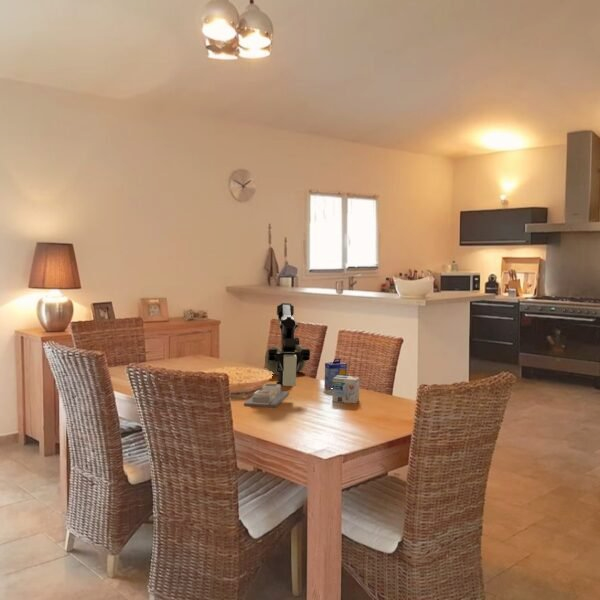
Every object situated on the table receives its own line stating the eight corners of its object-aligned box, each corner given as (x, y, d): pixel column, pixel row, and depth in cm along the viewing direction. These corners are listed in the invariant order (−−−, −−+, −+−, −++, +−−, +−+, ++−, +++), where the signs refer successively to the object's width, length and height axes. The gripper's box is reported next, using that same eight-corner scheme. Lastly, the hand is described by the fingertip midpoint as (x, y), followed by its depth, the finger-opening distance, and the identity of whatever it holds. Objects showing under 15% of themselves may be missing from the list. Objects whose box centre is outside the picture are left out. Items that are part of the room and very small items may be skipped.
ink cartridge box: (328, 389, 302) (329, 359, 301) (323, 387, 307) (324, 358, 306) (347, 388, 306) (347, 358, 305) (341, 385, 311) (342, 356, 310)
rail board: (259, 392, 295) (259, 381, 295) (289, 393, 293) (289, 382, 292) (244, 405, 270) (244, 393, 269) (276, 407, 267) (276, 395, 267)
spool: (283, 377, 331) (283, 348, 329) (265, 372, 341) (265, 345, 340) (306, 373, 342) (306, 345, 341) (287, 369, 353) (287, 342, 352)
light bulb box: (331, 401, 279) (332, 377, 278) (336, 398, 285) (337, 374, 284) (355, 404, 275) (355, 379, 274) (359, 400, 281) (360, 376, 280)
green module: (282, 383, 283) (283, 354, 282) (294, 383, 283) (295, 354, 282) (283, 385, 278) (284, 356, 277) (295, 385, 278) (296, 356, 277)
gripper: (268, 331, 282) (269, 359, 272) (310, 331, 283) (312, 359, 273) (267, 345, 290) (268, 374, 280) (308, 345, 292) (310, 374, 282)
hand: (289, 370), depth 279 cm, fingers closed on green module, 5 cm apart
